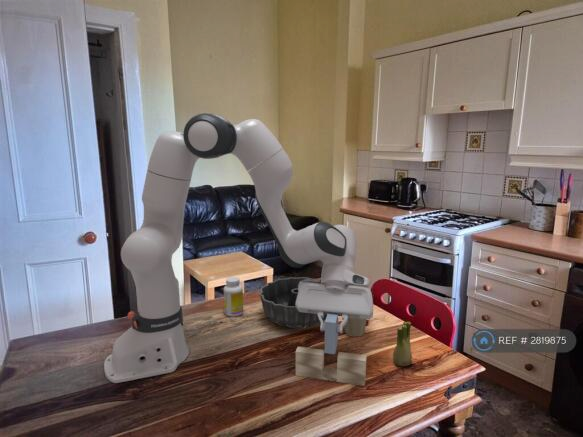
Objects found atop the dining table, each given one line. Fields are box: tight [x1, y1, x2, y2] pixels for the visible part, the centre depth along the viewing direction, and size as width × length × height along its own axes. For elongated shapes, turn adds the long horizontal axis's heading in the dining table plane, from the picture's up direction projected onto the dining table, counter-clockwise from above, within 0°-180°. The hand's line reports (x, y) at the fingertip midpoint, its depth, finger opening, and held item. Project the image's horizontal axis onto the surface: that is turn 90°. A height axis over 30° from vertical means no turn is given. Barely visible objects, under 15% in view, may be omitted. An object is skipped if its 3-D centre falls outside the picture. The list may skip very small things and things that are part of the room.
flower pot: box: [343, 317, 368, 337], centre depth 121 cm, size 9×9×9 cm
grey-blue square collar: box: [324, 312, 339, 355], centre depth 96 cm, size 6×3×8 cm, turn 166°
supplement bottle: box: [223, 276, 244, 317], centre depth 134 cm, size 7×7×13 cm
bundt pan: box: [258, 276, 327, 329], centre depth 132 cm, size 26×26×10 cm
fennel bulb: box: [392, 321, 413, 367], centre depth 104 cm, size 6×5×12 cm
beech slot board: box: [295, 346, 367, 387], centre depth 98 cm, size 18×2×7 cm, turn 76°
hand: (331, 331), depth 95 cm, fingers closed on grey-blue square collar, 3 cm apart
